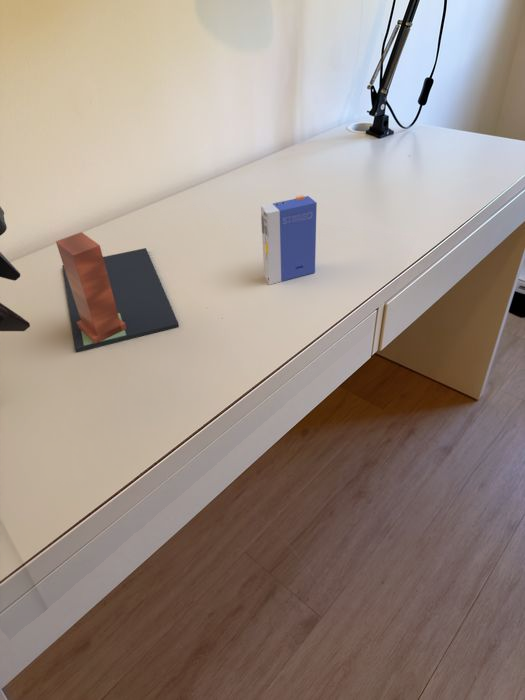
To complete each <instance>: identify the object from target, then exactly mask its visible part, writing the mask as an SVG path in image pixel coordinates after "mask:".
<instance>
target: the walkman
mask: <svg viewBox="0 0 525 700" xmlns="http://www.w3.org/2000/svg"><path fill="white" fill-rule="evenodd" d="M317 203H318V202H316V201H315V199H313V198H312V197H310V196H309V195H306V196H305V195H304V194H303V195H298V196H295V198H293V199H292V198H291V199H288V200H287V199H286V200H281V201H279V202H278V201H277V202H273V203H268V204H264V205H260V214H261V215H260V223H261V236H262V237H261V238H262V257H263V258H262V260H263V261H262V262H263V276H264V278H265V281H266V282H267V283H268V284H269V285H273V284H278V283H281V282H285V281H288V280H292V279H296V278H300V277H304V276H308V275H311V274H315V273H316V249H317V246H316V244H317V210H318V209H317V207H318V205H317Z"/></svg>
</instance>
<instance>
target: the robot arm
mask: <svg viewBox="0 0 525 700" xmlns="http://www.w3.org/2000/svg"><path fill="white" fill-rule="evenodd" d="M7 229H8V226H7V223H6V220H5V211H4V209H3V208H2V207H1V206H0V237H1V236H2V235H4V234H5V233H6V231H7ZM20 277H21V273H20V271H19V270H18V269H17V268H16V267H15V266H14V265H13V264H12V262H10V261H9V260H8V258H7V257H5V255H4V254H3V253H2V252H1V251H0V278H3V279H6V280H10V281H15V282H16V281H17V280H18V279H19V278H20ZM30 327H31V324H30V322H28V321H27V320H26V319H25V318H24V317H23V316H21V315H20V314H18V313H16V312H15V311H13V310H12V309H11V308H9V307H8V306H6V305H5V304H3V303H1V302H0V332H26V331H27V330H28V329H29V328H30Z"/></svg>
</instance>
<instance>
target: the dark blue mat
mask: <svg viewBox="0 0 525 700" xmlns="http://www.w3.org/2000/svg"><path fill="white" fill-rule="evenodd" d="M103 259H104V263H105V267H106V271H107V274H108V278H109V282H110V286H111V289H112V293H113V297H114V301H115V305H116V308H117V312H118V316H119V318H120V319H121V320H122V321H123V322H124V323H125V324H126V328H127V329H126V330H123V331H121V332H119V333H117V334H115V335H113V336H111V337H109V338H106V339H104V340H102V341H100V342H98V343H96V344H94V343H93V342H92V341H91V340H90V339H89V338H88V337H87V336H86V335H85V334H84V333H83V332H82V331H81V330H80V329H79V328H78V325H77V322H78V321H80V320H81V318H80V315H79V312H78V309H77V306H76V303H75V300H74V297H73V294H72V290H71V287H70V284H69V281H68V278H67V275H66V272H65V269H64V265H63V264H62V265H61V267H62V274H63V278H64V286H65V287H64V288H65V293H66V294H65V295H66V300H67V306H68V313H69V318H70V326H71V332H72V340H73V345H74V351H75V353H79V352H82V351H87V350H91V349H94V348H99V347H102V346H107V345H111V344H116V343H119V342H123V341H127V340H128V341H129V340H131V339H134V338H141V337H144V336H148V335H151V334H156V333H160V332H164V331H168V330H171V329H175V328H179V327H180V325H179V322H178V319H177V317H176V315H175V312H174V310H173V308H172V305H171V303H170V300H169V298H168V295H167V294H166V291H165V289H164V287H163V284H162V282H161V280H160V277H159V275H158V273H157V271H156V267H155V265H154V263H153V261H152V258H151V256H150V254H149V251H148V250H147V247H144V248H140V249H135V250H128V251H125V252H120V253H115V254H110V255H106V256H105V255H104V256H103Z"/></svg>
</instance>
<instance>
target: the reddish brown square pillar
mask: <svg viewBox="0 0 525 700" xmlns="http://www.w3.org/2000/svg"><path fill="white" fill-rule="evenodd" d="M55 244H56V247H57V250H58V253H59V256H60V259H61V263H62V265H64V269H65V272H66V275H67V278H68V281H69V284H70V287H71V290H72V294H73V297H74V300H75V303H76V306H77V309H78V312H79V315H80V318H81V320H80V321H78V322H77V325H78V328H79V329H80V330H81V331H82V332H83V333H84V334H85V335H86V336H87V337H88V338H89V339H90V340H91V341H92V342H93V343H94V344H96V343H98V342H100V341H102V340H104V339H106V338H109V337H111V336H113V335H115V334H117V333H119V332H121V331H123V330H126V329H127V328H126V324H125V323H124V322H123V321H122V320H121V319H120V318H119V316H118V312H117V308H116V305H115V301H114V297H113V293H112V289H111V286H110V282H109V278H108V274H107V271H106V267H105V263H104V259H103V257H104V256H103V251H102V249H101V248H102V247H101V245H100V244H98V243H97V242H96V241H95V240H93V239H92V238H91V237H89V236H88V235H86V234H85V233H84V232H82V231H81V232H77V233H75V234H72V235H70V236H66V237H64V238H61V239H58V240H56V241H55Z"/></svg>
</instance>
